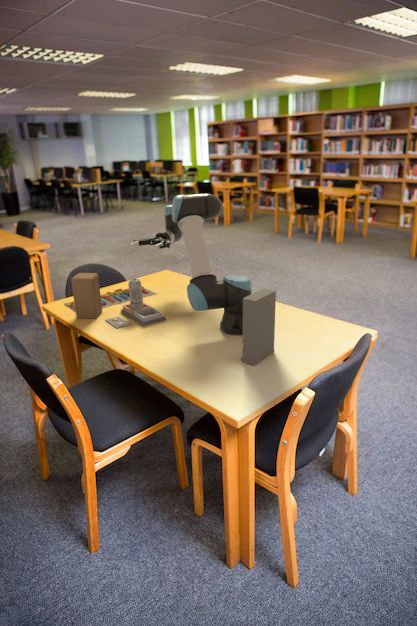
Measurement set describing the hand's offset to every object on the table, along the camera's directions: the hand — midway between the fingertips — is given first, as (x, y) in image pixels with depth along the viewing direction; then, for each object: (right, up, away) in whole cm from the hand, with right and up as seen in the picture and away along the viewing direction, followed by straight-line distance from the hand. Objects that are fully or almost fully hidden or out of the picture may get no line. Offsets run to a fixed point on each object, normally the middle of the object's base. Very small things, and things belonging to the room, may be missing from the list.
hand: (143, 247), depth 211 cm
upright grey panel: (+50, -48, -44) cm, 82 cm away
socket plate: (0, -33, -2) cm, 33 cm away
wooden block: (-26, -33, +1) cm, 42 cm away
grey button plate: (-10, -36, -9) cm, 38 cm away
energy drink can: (-3, -30, +2) cm, 30 cm away
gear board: (-20, -25, +23) cm, 39 cm away
